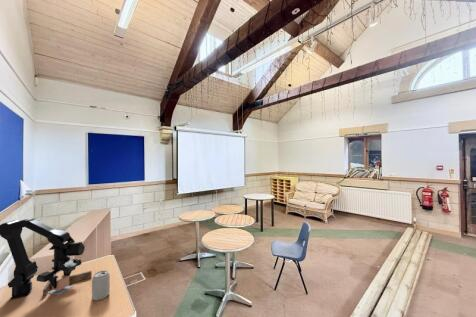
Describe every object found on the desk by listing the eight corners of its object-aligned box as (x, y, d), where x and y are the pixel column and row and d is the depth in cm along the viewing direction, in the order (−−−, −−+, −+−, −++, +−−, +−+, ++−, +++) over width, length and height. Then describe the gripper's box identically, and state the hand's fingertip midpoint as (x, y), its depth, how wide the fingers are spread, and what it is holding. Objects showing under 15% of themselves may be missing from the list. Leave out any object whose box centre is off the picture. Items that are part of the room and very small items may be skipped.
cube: (52, 289, 106) (52, 280, 106) (62, 283, 111) (62, 274, 111) (59, 290, 105) (59, 281, 105) (69, 285, 110) (69, 275, 110)
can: (112, 294, 104) (112, 270, 104) (97, 303, 97) (97, 278, 97) (103, 290, 107) (103, 268, 107) (88, 299, 100) (88, 275, 100)
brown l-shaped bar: (42, 296, 103) (43, 289, 103) (48, 287, 110) (48, 281, 110) (89, 284, 113) (89, 277, 113) (91, 276, 121) (91, 270, 121)
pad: (58, 295, 104) (58, 294, 104) (48, 293, 105) (48, 292, 105) (72, 286, 111) (72, 286, 111) (62, 285, 112) (62, 285, 112)
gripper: (52, 266, 98) (52, 298, 97) (89, 250, 116) (88, 277, 115) (35, 264, 100) (35, 295, 100) (74, 248, 118) (73, 275, 118)
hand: (60, 285), depth 108 cm, fingers closed on cube, 5 cm apart
